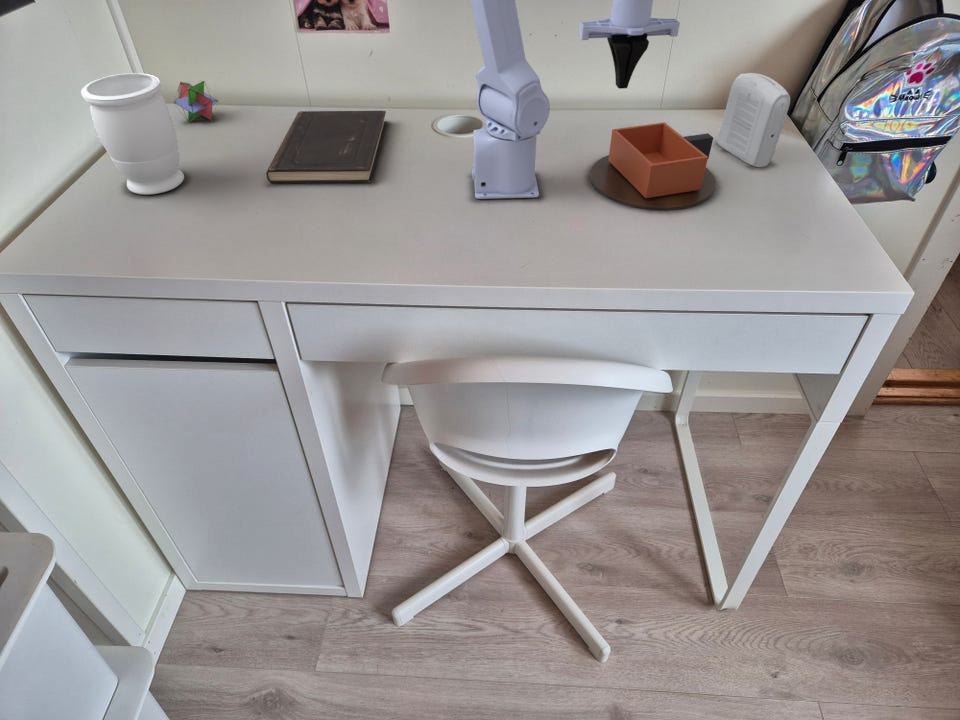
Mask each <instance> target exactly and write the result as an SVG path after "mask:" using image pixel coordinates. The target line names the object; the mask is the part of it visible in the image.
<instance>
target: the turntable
mask: <svg viewBox="0 0 960 720" xmlns="http://www.w3.org/2000/svg"><path fill="white" fill-rule="evenodd" d="M608 158H609V154H607V155H605V156H603V157H601V158H599V159H598V160H597V161H595V162H594V164H593V165H592V166H591V169H590V173H589V180H590V183H591V185H592V186H593V188H594V189H595V190H596V191H597V192H598V193H600V194H601V195H602V196H604V197H605V198H607V199H609V200H611V201H613V202H615V203H617V204H620V205H623V206H627V207H630V208H635V209H640V210H648V211H661V212H663V211H665V212H666V211H677V210H679V211H680V210H685V209H689V208H690V209H691V208H693V207H696V206H699V205H701V204H704V203H705V202H707V201H708V200H709V199H710V198H711V197H712V196H713V195H714V193H715V191H716V186H717V181H716V178H715V175H714V174H713V173H712V172H711V170H710V169H708V168H707V167H706V169H705V173H704V177H703V181H702V185H701V189H700V190H695V191H689V192H682V193H676V194H670V195H663V196H657V197H651V198H645V197H644V196H643V195H642V194H641V193H640V192H639V191H638V190H637V189H636V188H635V187H634V186H633V185H632V184H631V183H630V182H629V181H628V180H627V179H626V178H625V177H624V176H623V175H622V174H621V173H620V172H619V171H618V170H617V169H616V168H615V167H614V166H613V165H612V164H611V163H610V162H609V161H608Z"/></svg>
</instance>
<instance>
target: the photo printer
mask: <svg viewBox="0 0 960 720" xmlns="http://www.w3.org/2000/svg"><path fill="white" fill-rule="evenodd" d="M790 105H791V96H790V94H789V92H788V91H787V90H786V89H785V87H783V86H782V85H781V84H780V83H778V82H777V81H776V80H774V79H773V78H771V77H770V76H767V75H764V74H761V73H758V72H757V73H756V72H746V73H740V74H739V75H738V76H737V77H736V78H735V79H734V81H733V82H732V84H731V88H730V91H729V94H728V99H727V102H726V107H725V110H724V115H723V118H722V122H721V126H720V129H719V133H718V138H717V145H718V146H720V147H721V148H723V149H724V150H726V151H727V152H729V153H730V154H732V155H734V157H737V158H738V159H739V160H741V161H742V162H745V163H746V164H748V165H750V166H753V167H754V168H764V167H767V166H768V165H769V164H770V163H771V162H772V160H773V157H774V156H775V155H774V154H775V152H776V149H777V146H778V142H779V139H780V137H781V133H782V129H783V126H784V123H785V121H786V119H787V118H786V117H787V115H788V111H789V108H790Z"/></svg>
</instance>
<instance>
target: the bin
mask: <svg viewBox="0 0 960 720" xmlns="http://www.w3.org/2000/svg"><path fill="white" fill-rule="evenodd" d="M713 141H714V137H713V135H711V134H710V133H707V132H706V133H700V134H694V135H686V136H683V135H681V134H680V133H679V132H677V131H676V130H675V129H674V128H673V127H671V126H670V125H669V124H668V123H666V122H663V121H662V122H658V123H649V124H641V125H634V126H627V127H620V128H613V129H611V136H610V144H609V152H608V155H609V158H608V161H609V162H610V163H611V164H612V165H613V166H614V167H615V168H616V169H617V170H618V171H619V172H620V173H621V174H622V175H623V176H624V177H625V178H626V179H627V180H628V181H629V182H630V183H631V184H632V185H633V186H634V187H635V188H636V189H637V190H638V191H639V192H640V193H641V194H642V195H643V196H644V197H645V198H651V197H657V196H663V195H670V194H676V193H682V192H689V191H695V190H700V189H701V185H702V181H703V177H704V173H705V169H706V168H707V164H708V161H709V158H710V154H711V149H712V147H713V146H712V145H713Z"/></svg>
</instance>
